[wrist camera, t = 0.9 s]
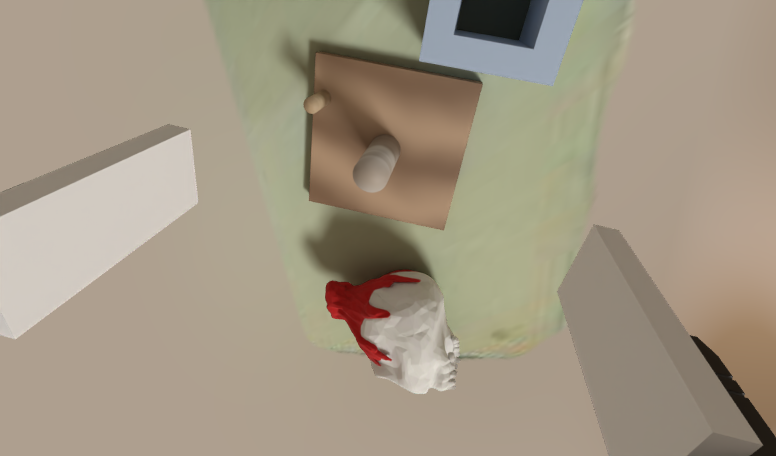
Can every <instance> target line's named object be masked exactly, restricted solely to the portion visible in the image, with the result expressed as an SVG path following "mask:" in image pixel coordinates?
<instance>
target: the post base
mask: <svg viewBox="0 0 776 456" xmlns="http://www.w3.org/2000/svg"><path fill="white" fill-rule="evenodd" d="M482 85H483V84H482V82H480V81H474V80H469V79H464V78H458V77H453V76H448V75H442V74H437V73H432V72H427V71H421V70H416V69H411V68H405V67H400V66H395V65H390V64H384V63H379V62H374V61H368V60H363V59H358V58H352V57H347V56H342V55H337V54H331V53H326V52H321V51H320V52H316V58H315V80H314V94H315V93H317V92H319V91H321V90H326V91H328V92H329V93H330V95H331V102H330V103H329V104H328V105H326V106H325V107H324V108H322V109H321V110H319V111H318V112H316V113H314V114H313V124H312V146H311V168H310V190H309V201H313V202H317V203H322V204H326V205H331V206H335V207H340V208H344V209H349V210H353V211H358V212H363V213H367V214H372V215H376V216H381V217H385V218H390V219H394V220H399V221H403V222H408V223H413V224H417V225H422V226H426V227H431V228H435V229H440V230H444V228H445V224H446V220H447V216H448V213H449V209H450V205H451V201H452V198H453V194H454V190H455V186H456V182H457V179H458V175H459V171H460V167H461V164H462V160H463V156H464V152H465V149H466V145H467V141H468V137H469V134H470V130H471V126H472V122H473V118H474V115H475V111H476V107H477V103H478V100H479V96H480V92H481V88H482Z"/></svg>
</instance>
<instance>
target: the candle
mask: <svg viewBox="0 0 776 456" xmlns="http://www.w3.org/2000/svg"><path fill="white" fill-rule="evenodd" d="M325 299H326V302H327V309H328V310H329V312H330V313H331V316H332V318H334V319H343V320H345V321H346V322H347V324H348V325H349V327H350V329H351V331H352V333H353V334H354V336H355V338H356V340H357V343H358V345H359V346H360V348H361V349H362V350H363V351H364V352H365V353H366V355H367V356H368V358H369V359H370V361H371V366H372V369H373V371H374V374H375V376H376V377H378V378H385V379H389V380H391V381H392V382H394V383H396V384H398V385H399V386H401V387H403V388H405V389H407V390H408V391H410V392H412V393H414V394H426V393H427V391H428V389H429V388H435V389H437V390H439V391H444V390H447V389H455V387H456V386H454V384H455V379H453V377H455V376H457V372H456V371H455V370H454V369H457V367H458V366H457V364H455V363H454V362H457V363H459V362H460V359H459V358H458V357H459V355H460V353H459V340H458V338H457V337H455V336H454V335H453V333H452V331H451V330H450V328H449V326H448V324H447V319H446V313H445V308H444V296H443V293H442V292H441V290H440V288H439V286H438V285H437V283H436V282H435V281H434V280H433V279H432V278H431V277H430V276H428V275H426V274H424V273H420V272H417V271H412V270H397V271H394V272H391V273H388V274H387V275H383V276H382V277H380V278H378V279H371V280H369V281H367V282H365V283H363V284H362V285H356V286H353V285H352V284H351V283H349V282H338V281H330V282H328V283H327V285H326V294H325ZM457 356H458V357H457Z"/></svg>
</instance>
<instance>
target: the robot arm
mask: <svg viewBox="0 0 776 456" xmlns="http://www.w3.org/2000/svg"><path fill="white" fill-rule="evenodd" d="M197 203H198V197H197V187H196V177H195V168H194V159H193V150H192V141H191V132H190V129H187V128H183V127H179V126H174V125H170V124H167V125H165V126H162V127H160V128H158V129H155V130H153V131H150V132H148V133H145V134H143V135H140V136H138V137H136V138H133V139H131V140H128V141H126V142H123V143H121V144H118V145H116V146H114V147H111V148H109V149H106V150H104V151H101V152H99V153H96V154H94V155H92V156H89V157H87V158H84V159H82V160H79V161H77V162H74V163H72V164H69V165H67V166H65V167H62V168H60V169H57V170H55V171H52V172H50V173H47V174H45V175H43V176H40V177H38V178H35V179H33V180H30V181H28V182H25V183H22V184H20V185H17V186H15V187H12V188H10V189H8V190H5V191H3V192H1V193H0V335H2V336H5V337H9V338H13V339H16V338H18V337H19V336H20V335H22V334H23V333H24V332H25V331H27V330H28V329H30V328H31V327H32V326H34V325H35V324H36V323H38V322H39V321H40V320H42V319H43V318H44V317H46V316H47V315H48V314H50V313H51V312H52V311H54V310H55V309H56V308H58V307H59V306H60V305H62V304H63V303H64V302H66V301H67V300H68V299H70V298H71V297H72V296H74V295H75V294H76V293H78V292H79V291H80V290H82V289H83V288H85V287H86V286H87V285H89V284H90V283H91V282H93V281H94V280H95V279H97V278H98V277H99V276H100V275H102V274H103V273H104V272H106V271H107V270H109V269H110V268H111V267H113V266H114V265H115V264H117V263H118V262H119V261H121V260H122V259H123V258H125V257H126V256H127V255H129V254H130V253H131V252H133V251H134V250H135V249H137V248H138V247H139V246H141V245H142V244H143V243H145V242H146V241H147V240H149V239H150V238H151V237H153V236H154V235H155V234H157V233H158V232H159V231H161V230H162V229H164V228H165V227H166V226H167V225H169V224H170V223H171V222H173V221H174V220H176V219H177V218H178V217H179V216H181V215H182V214H184V213H185V212H186V211H188V210H189V209H190V208H192V207H193V206H194V205H196V204H197ZM557 292H558V296H559V299H560V302H561V305H562V308H563V311H564V315H565V318H566V321H567V324H568V327H569V331H570V334H571V336H572V340H573V343H574V346H575V350H576V352H577V356H578V359H579V362H580V366H581V369H582V372H583V375H584V378H585V381H586V385H587V388H588V391H589V394H590V397H591V401H592V403H593V407H594V410H595V413H596V416H597V419H598V423H599V426H600V429H601V432H602V435H603V439H604V442H605V445H606V448H607V451H608V454H609V456H776V437H775V435H774V434H773V433H772V431H771V430H770V428H769V427H768V426H767V424H766V423H765V421H764V420H763V419H762V417H761V416H760V414H759V413H758V412H757V410H756V409H755V407H754V406H753V405H752V403H751V402H750V400H749V399H748V398H745V397H744V395H745V393H744V392H743V390H742V389H741V388H740V386H739V385H738V383H737V382H736V381H734V380H732V377H733V376H732V375H731V374H730V372H729V371H728V369H727V368H726V367H725V365H724V364H723V363H722V361H721V360H720V358H719V357H718V356H717V355H716V354H715V353H714V352H713V351H712V350H711V349H710V348H709V347H707V346H706V345H705V344H704V343H703V342H702V341H701V340H700V339H699V338H698V337H695V336H691V335H689V334H688V332H687V331H686V330H685V328H684V326H683V325H682V323H681V322H680V320H679V319H678V317H677V316H676V315H675V313H674V312H673V310H672V309H671V307H670V306H669V304H668V303H667V301H666V300H665V298H664V297H663V295H662V294H661V292H660V291H659V289H658V288H657V286H656V285H655V283H654V282H653V280H652V279H651V277H650V276H649V274H648V273H647V271H646V270H645V268H644V267H643V265H642V264H641V262H640V261H639V259H638V258H637V256H636V255H635V253H634V252H633V250H632V249H631V247H630V246H629V245H628V243H627V241H626V240H625V239H624V237H623V235H622V234H621V232H620V231H619V230H616V229H612V228H607V227H603V226H599V225H595V224H594V225H593V227H592V229H591V230H590V232H589V234H588V236H587V238H586V239H585V241H584V243H583V245H582V247H581V249H580V250H579V252H578V254H577V256H576V258H575V260H574V261H573V263H572V265H571V267H570V269H569V271H568V273H567V274H566V276H565V278H564V280H563V282H562V284H561V285H560V287H559V289H558V291H557Z"/></svg>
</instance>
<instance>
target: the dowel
mask: <svg viewBox="0 0 776 456" xmlns="http://www.w3.org/2000/svg"><path fill="white" fill-rule="evenodd" d="M330 102H331V95H330V93H329V92H328V91H326V90H321V91H319V92H317V93H315V94H313V95H312V96H310V97H308V98H306V99H305V101H304V108H305V110H306V111H307V112H308V113H310V114H314V113H316V112H318V111H319V110H321V109H322V108H324V107H325V106H326V105H328V104H329V103H330Z"/></svg>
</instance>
